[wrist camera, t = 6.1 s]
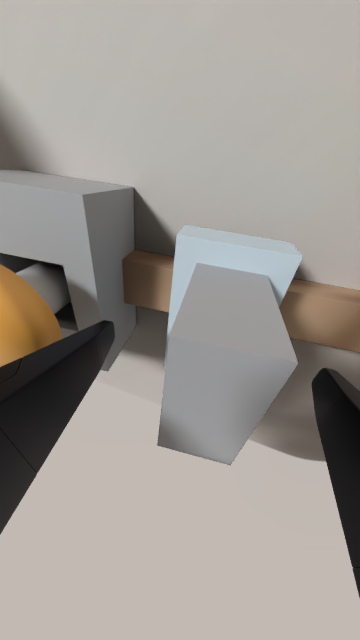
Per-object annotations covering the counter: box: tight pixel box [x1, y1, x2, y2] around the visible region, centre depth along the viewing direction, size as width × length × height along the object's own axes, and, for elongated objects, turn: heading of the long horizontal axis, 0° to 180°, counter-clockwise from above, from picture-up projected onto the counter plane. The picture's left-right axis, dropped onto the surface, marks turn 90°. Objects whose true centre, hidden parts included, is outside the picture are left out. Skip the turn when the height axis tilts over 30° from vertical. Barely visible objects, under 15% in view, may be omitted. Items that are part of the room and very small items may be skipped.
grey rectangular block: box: [0, 170, 136, 371], centre depth 13 cm, size 7×10×5 cm
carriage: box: [158, 225, 303, 465], centre depth 9 cm, size 5×8×7 cm, turn 173°
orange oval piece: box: [0, 261, 71, 367], centre depth 10 cm, size 6×6×5 cm
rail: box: [122, 250, 360, 352], centre depth 13 cm, size 16×3×2 cm, turn 83°
